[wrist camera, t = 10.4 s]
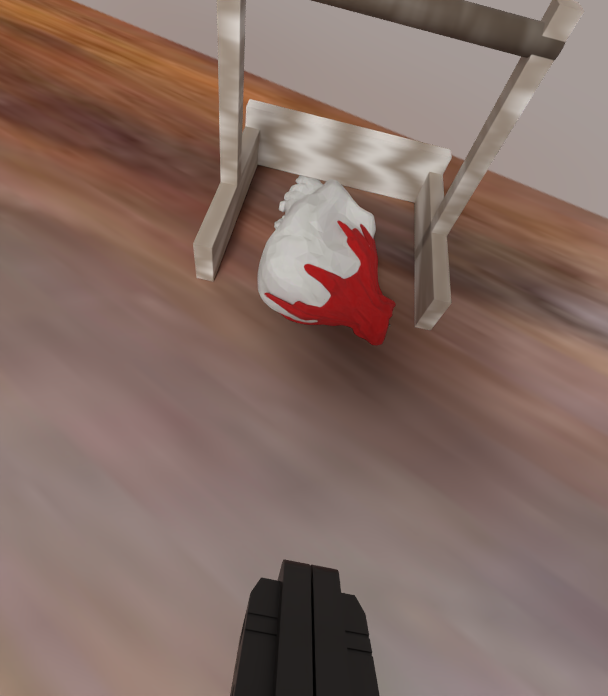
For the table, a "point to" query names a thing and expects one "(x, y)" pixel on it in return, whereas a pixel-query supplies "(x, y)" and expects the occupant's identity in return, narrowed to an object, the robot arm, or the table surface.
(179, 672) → the table surface
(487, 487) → the table surface
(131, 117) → the table surface
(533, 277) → the table surface
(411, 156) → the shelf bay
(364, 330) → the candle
